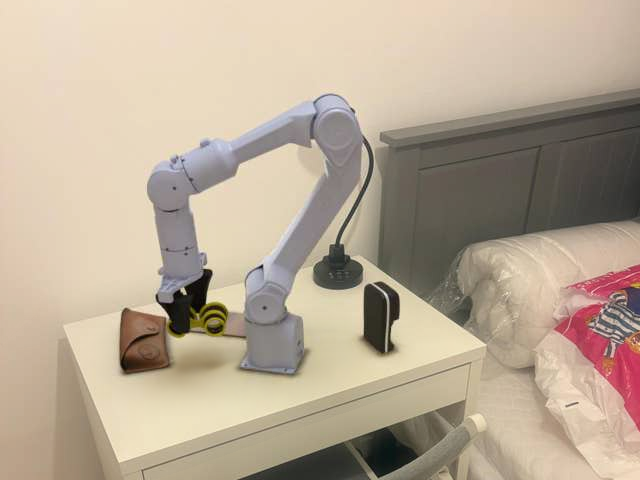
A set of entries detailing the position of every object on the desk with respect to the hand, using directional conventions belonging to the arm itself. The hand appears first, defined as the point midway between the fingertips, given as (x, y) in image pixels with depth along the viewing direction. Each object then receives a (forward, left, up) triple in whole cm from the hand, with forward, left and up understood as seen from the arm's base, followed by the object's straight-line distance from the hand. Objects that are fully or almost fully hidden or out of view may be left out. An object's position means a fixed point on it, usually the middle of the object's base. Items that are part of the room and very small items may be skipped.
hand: (191, 321), depth 108 cm
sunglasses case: (+12, -4, -9) cm, 15 cm away
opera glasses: (-1, 0, -2) cm, 2 cm away
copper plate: (+1, -14, -8) cm, 17 cm away
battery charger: (-30, -13, -9) cm, 33 cm away
